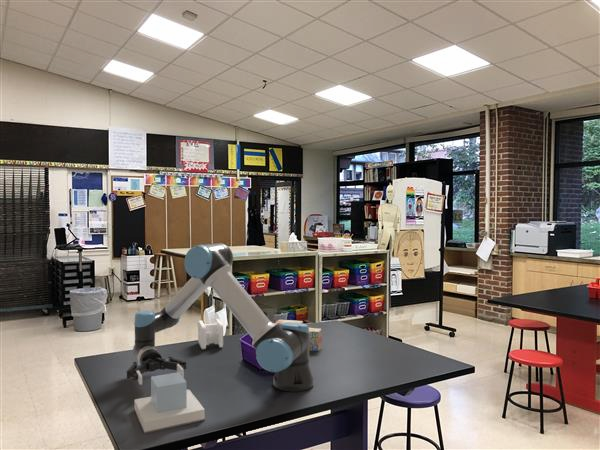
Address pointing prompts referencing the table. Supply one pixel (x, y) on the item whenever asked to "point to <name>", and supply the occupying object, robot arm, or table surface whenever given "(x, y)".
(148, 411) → the socket
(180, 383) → the grey-blue block
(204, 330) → the cable organizer
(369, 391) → the table surface
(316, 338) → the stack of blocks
